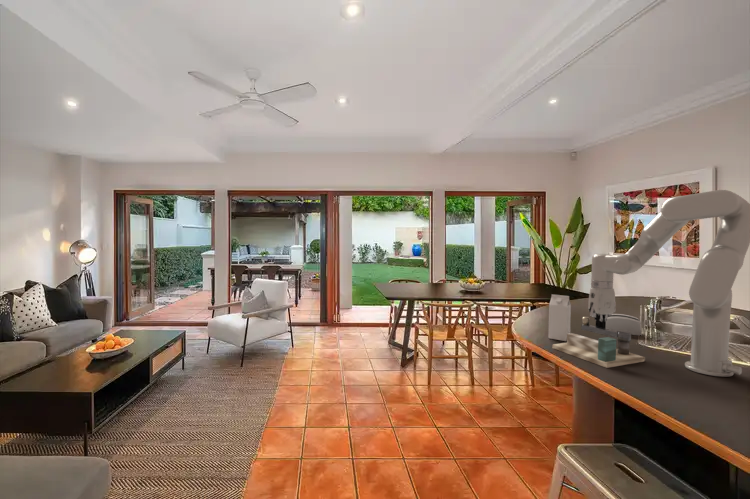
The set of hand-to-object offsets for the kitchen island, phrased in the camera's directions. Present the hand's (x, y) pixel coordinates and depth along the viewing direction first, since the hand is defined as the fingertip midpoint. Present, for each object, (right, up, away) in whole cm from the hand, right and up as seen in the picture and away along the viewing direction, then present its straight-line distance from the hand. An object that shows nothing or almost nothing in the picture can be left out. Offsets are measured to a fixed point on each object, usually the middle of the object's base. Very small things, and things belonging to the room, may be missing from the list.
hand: (600, 330), depth 157 cm
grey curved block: (+23, -6, +24) cm, 34 cm away
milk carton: (-10, -7, +15) cm, 19 cm away
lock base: (-6, -8, -8) cm, 12 cm away
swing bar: (-1, -1, -5) cm, 5 cm away
